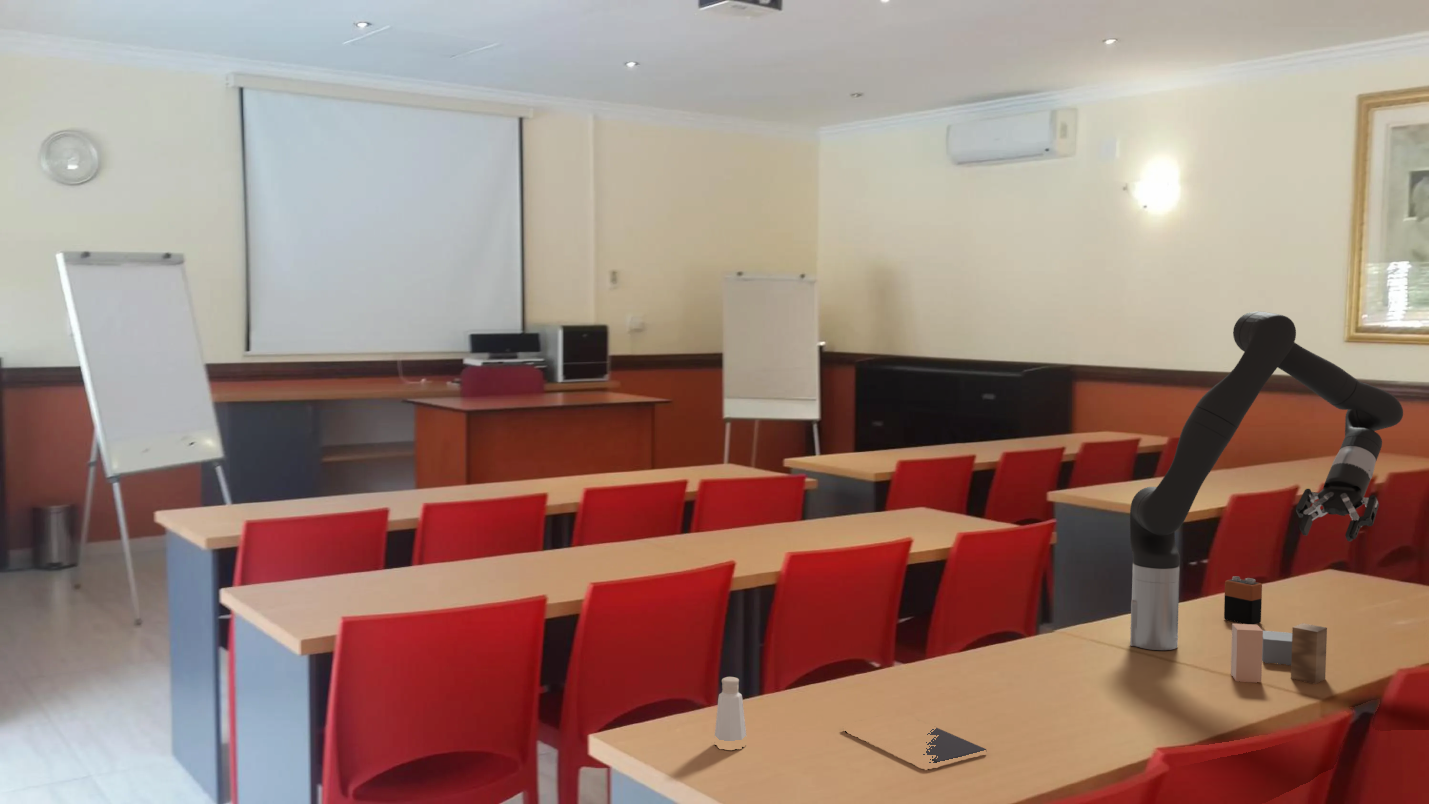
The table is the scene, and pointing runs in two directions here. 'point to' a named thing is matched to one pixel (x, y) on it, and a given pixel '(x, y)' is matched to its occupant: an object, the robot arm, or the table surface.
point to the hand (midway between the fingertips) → (1325, 535)
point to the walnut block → (1308, 653)
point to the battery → (1243, 600)
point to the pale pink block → (1246, 652)
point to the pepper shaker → (730, 712)
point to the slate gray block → (1277, 647)
